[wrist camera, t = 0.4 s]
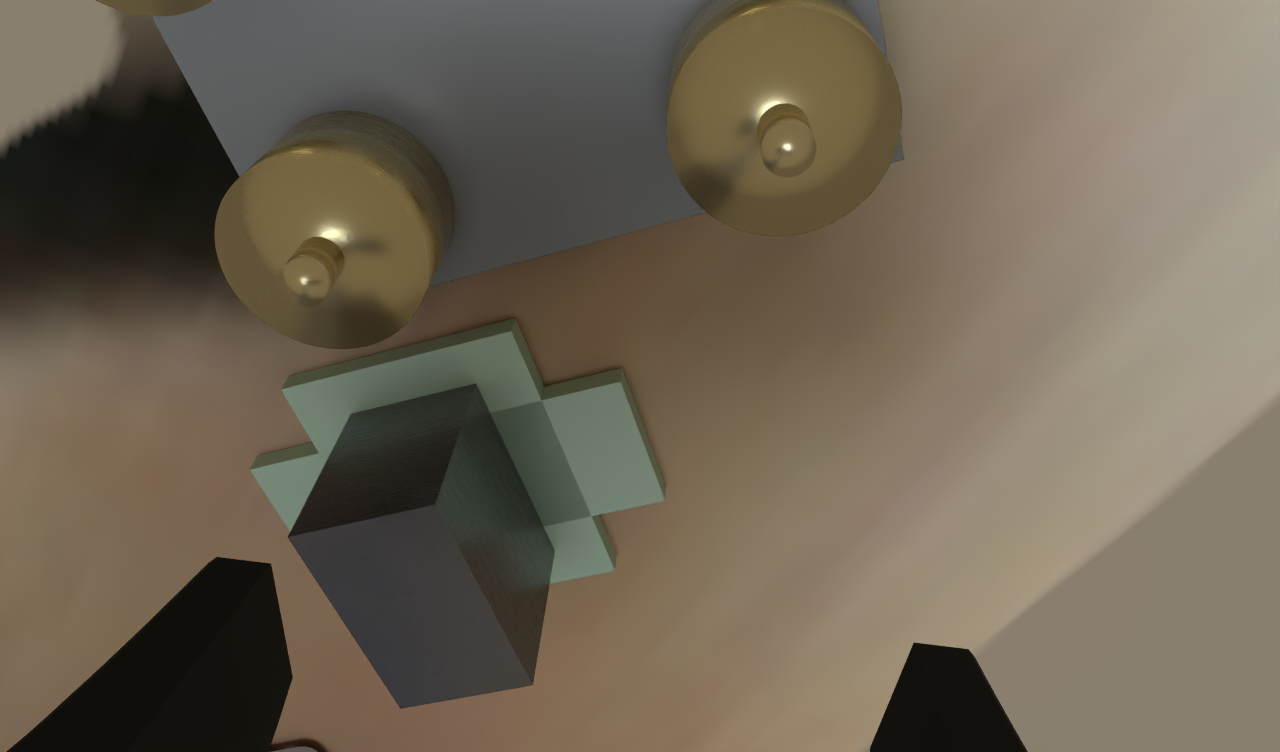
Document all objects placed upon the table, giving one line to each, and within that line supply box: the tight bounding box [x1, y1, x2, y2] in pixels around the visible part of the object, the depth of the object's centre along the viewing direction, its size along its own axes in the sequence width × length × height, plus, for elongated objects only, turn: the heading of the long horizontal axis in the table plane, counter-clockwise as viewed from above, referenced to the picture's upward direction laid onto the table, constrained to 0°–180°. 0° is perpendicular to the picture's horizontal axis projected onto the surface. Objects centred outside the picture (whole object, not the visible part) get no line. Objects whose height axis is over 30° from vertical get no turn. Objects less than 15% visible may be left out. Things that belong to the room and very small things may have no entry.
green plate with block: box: [250, 318, 666, 709], centre depth 21 cm, size 9×7×5 cm
